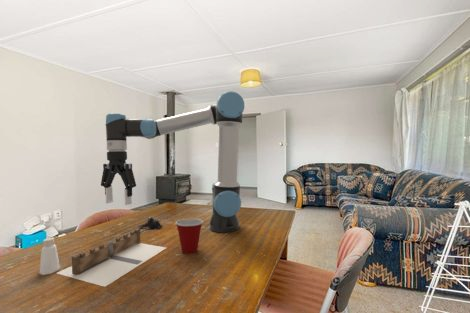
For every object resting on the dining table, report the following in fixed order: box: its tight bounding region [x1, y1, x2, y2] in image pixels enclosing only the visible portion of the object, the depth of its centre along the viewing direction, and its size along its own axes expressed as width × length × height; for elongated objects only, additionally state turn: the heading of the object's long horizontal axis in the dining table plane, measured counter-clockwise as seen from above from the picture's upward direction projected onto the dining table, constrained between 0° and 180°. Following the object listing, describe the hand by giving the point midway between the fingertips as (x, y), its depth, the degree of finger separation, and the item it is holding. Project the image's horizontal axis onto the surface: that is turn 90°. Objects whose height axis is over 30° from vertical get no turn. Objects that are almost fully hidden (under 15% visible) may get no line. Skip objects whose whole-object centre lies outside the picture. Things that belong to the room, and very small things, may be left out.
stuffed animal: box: [137, 216, 163, 234], centre depth 117 cm, size 12×10×12 cm
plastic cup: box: [175, 218, 204, 255], centre depth 90 cm, size 11×11×12 cm
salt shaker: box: [39, 237, 61, 276], centre depth 76 cm, size 5×5×11 cm
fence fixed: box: [71, 244, 109, 275], centre depth 78 cm, size 12×2×6 cm, turn 159°
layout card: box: [56, 242, 167, 288], centre depth 83 cm, size 22×28×1 cm
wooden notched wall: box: [106, 228, 141, 257], centre depth 91 cm, size 15×2×6 cm, turn 159°
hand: (118, 203), depth 96 cm, fingers open, 10 cm apart
